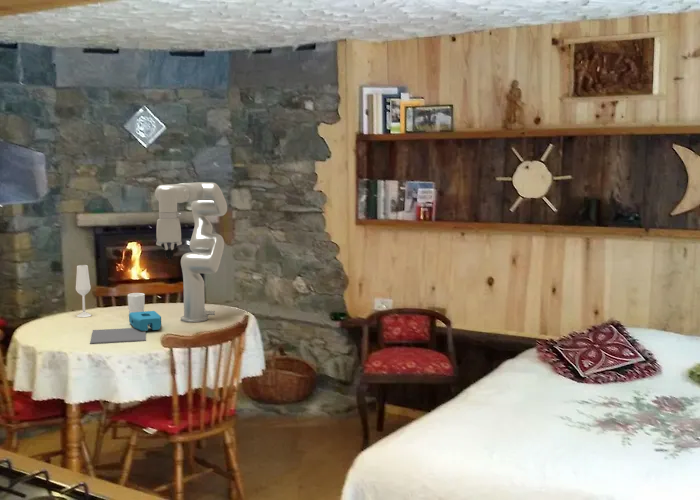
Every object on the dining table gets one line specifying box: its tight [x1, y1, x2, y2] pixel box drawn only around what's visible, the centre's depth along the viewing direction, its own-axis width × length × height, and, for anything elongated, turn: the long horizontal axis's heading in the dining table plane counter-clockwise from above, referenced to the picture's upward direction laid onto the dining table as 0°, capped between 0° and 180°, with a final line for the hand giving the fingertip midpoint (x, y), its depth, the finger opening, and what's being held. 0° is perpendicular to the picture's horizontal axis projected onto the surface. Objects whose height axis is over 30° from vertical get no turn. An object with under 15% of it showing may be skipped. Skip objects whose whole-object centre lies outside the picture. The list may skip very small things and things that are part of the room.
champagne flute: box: [75, 264, 92, 318], centre depth 360 cm, size 7×7×24 cm
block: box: [128, 310, 162, 332], centre depth 339 cm, size 12×5×20 cm
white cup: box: [127, 292, 146, 314], centre depth 363 cm, size 8×8×10 cm
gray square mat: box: [89, 327, 147, 345], centre depth 324 cm, size 22×22×1 cm
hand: (169, 258), depth 326 cm, fingers closed
